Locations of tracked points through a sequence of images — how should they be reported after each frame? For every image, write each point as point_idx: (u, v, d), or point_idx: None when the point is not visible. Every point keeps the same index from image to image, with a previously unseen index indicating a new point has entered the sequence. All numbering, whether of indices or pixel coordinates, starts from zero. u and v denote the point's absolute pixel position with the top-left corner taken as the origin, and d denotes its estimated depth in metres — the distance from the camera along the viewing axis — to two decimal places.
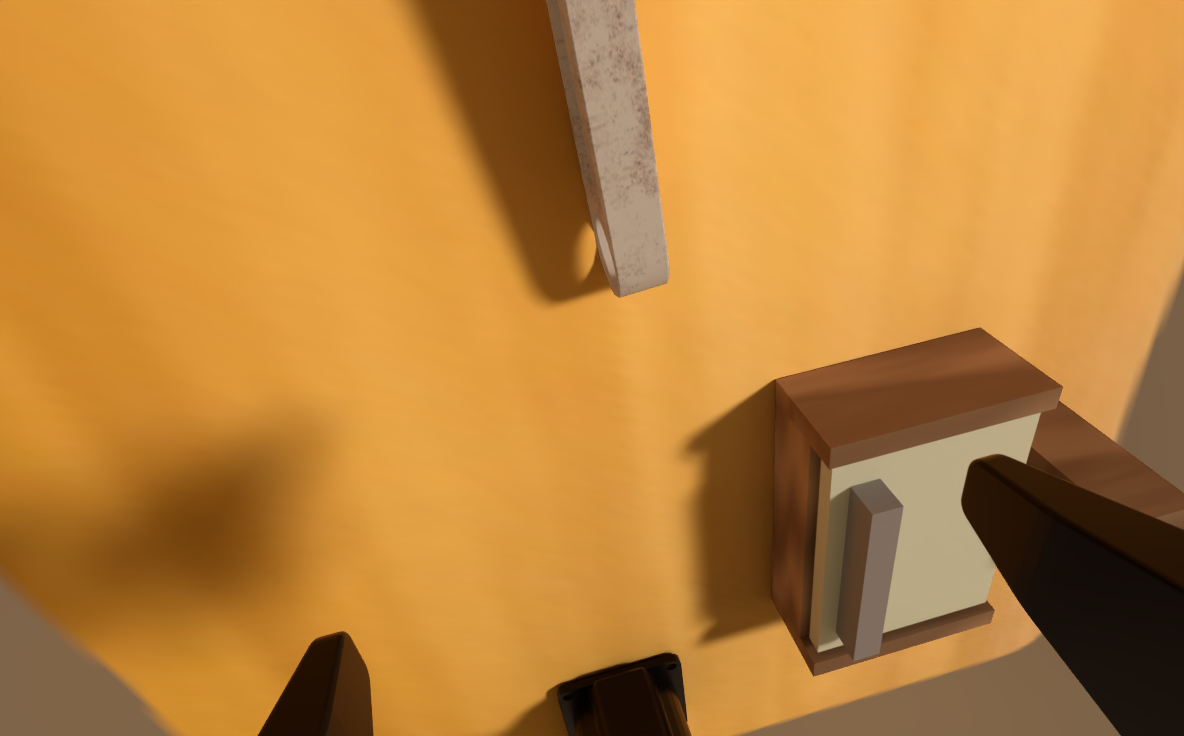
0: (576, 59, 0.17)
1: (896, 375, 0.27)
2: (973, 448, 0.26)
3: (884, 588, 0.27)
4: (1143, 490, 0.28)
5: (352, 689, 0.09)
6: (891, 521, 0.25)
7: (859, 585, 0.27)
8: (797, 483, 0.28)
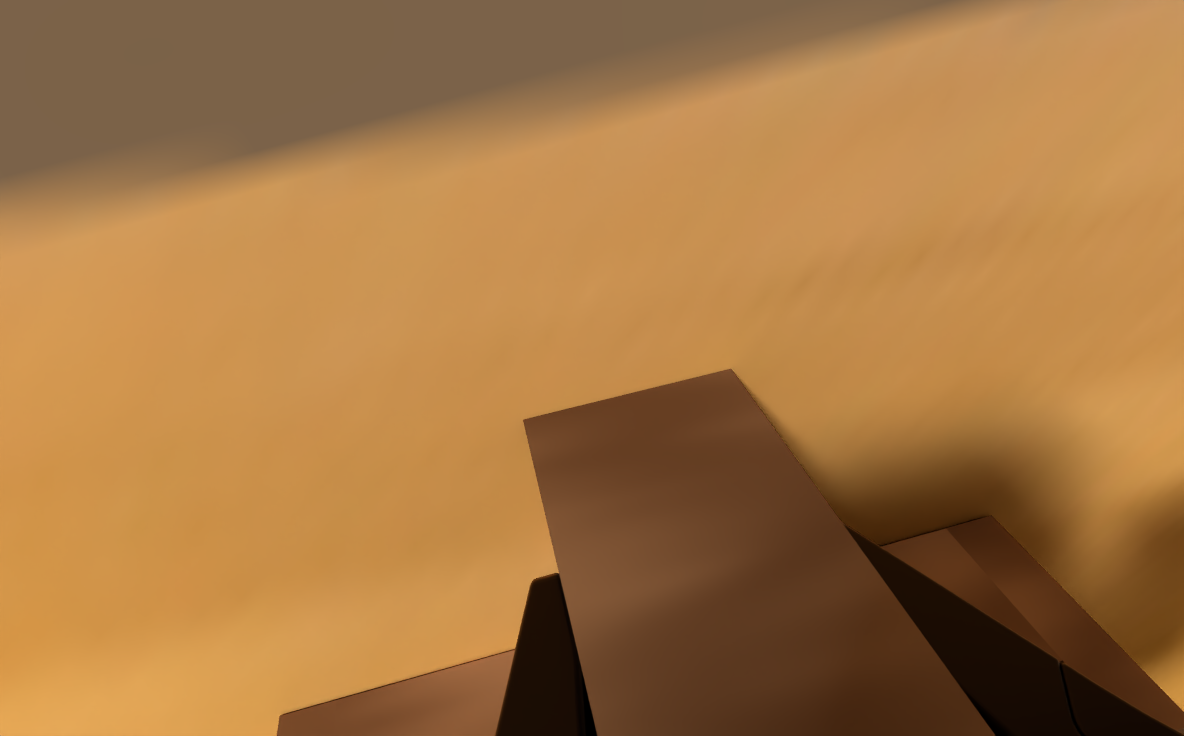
0: None
1: None
2: None
3: None
4: None
5: None
6: None
7: None
8: None
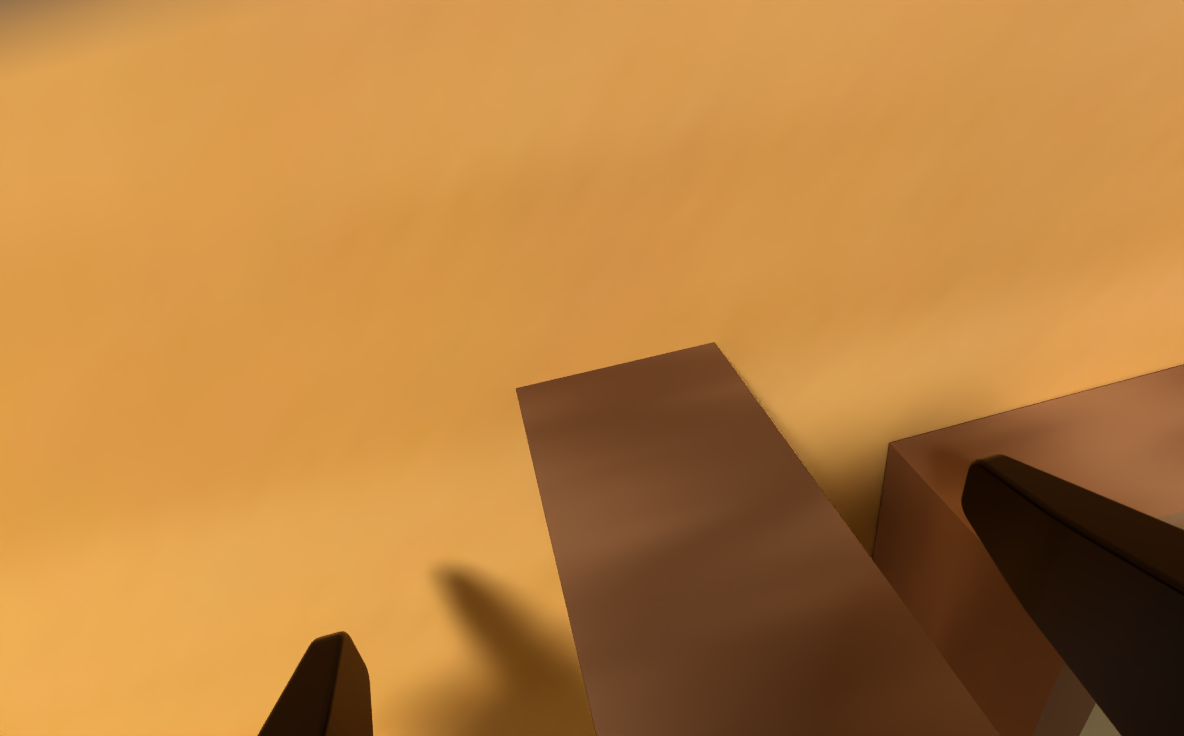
0: None
1: None
2: None
3: None
4: None
5: (352, 690, 0.09)
6: None
7: None
8: None
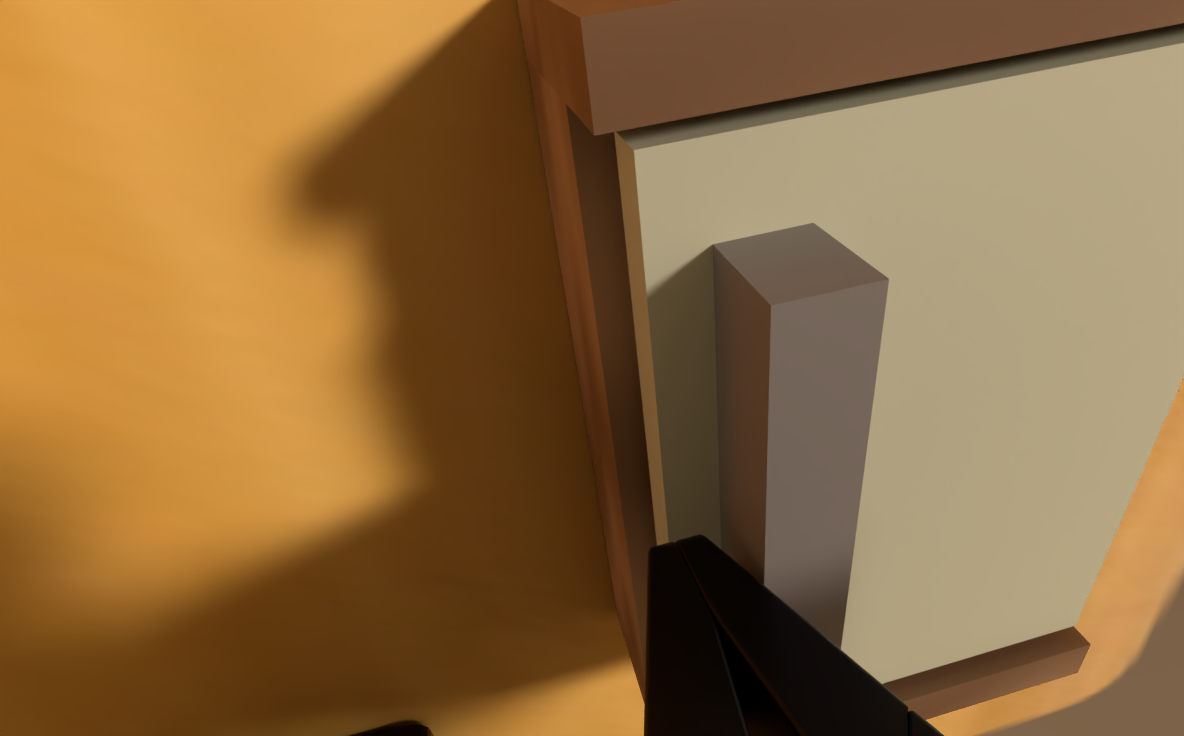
0: None
1: None
2: (1116, 139, 0.08)
3: (831, 588, 0.09)
4: None
5: None
6: (845, 344, 0.07)
7: None
8: (581, 291, 0.10)
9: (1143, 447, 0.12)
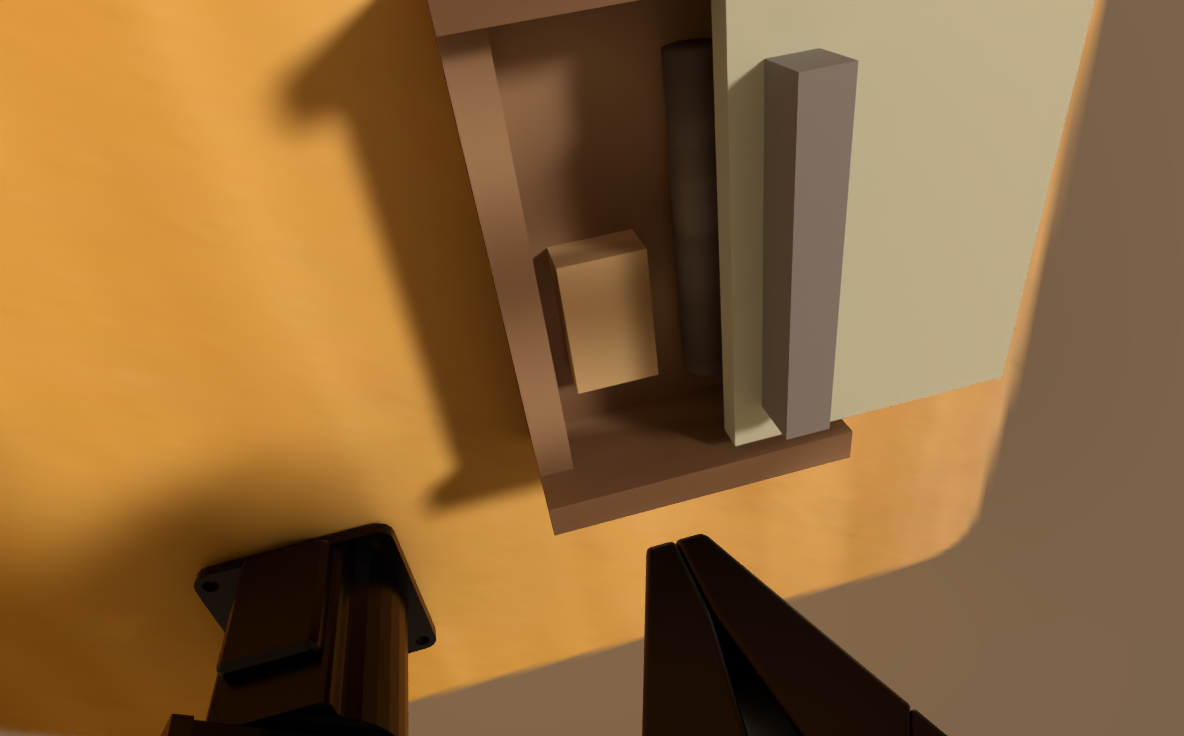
0: None
1: None
2: (989, 2, 0.15)
3: (831, 276, 0.16)
4: None
5: None
6: (837, 99, 0.13)
7: (786, 270, 0.16)
8: None
9: (1032, 225, 0.18)
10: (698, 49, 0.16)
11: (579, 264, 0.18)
